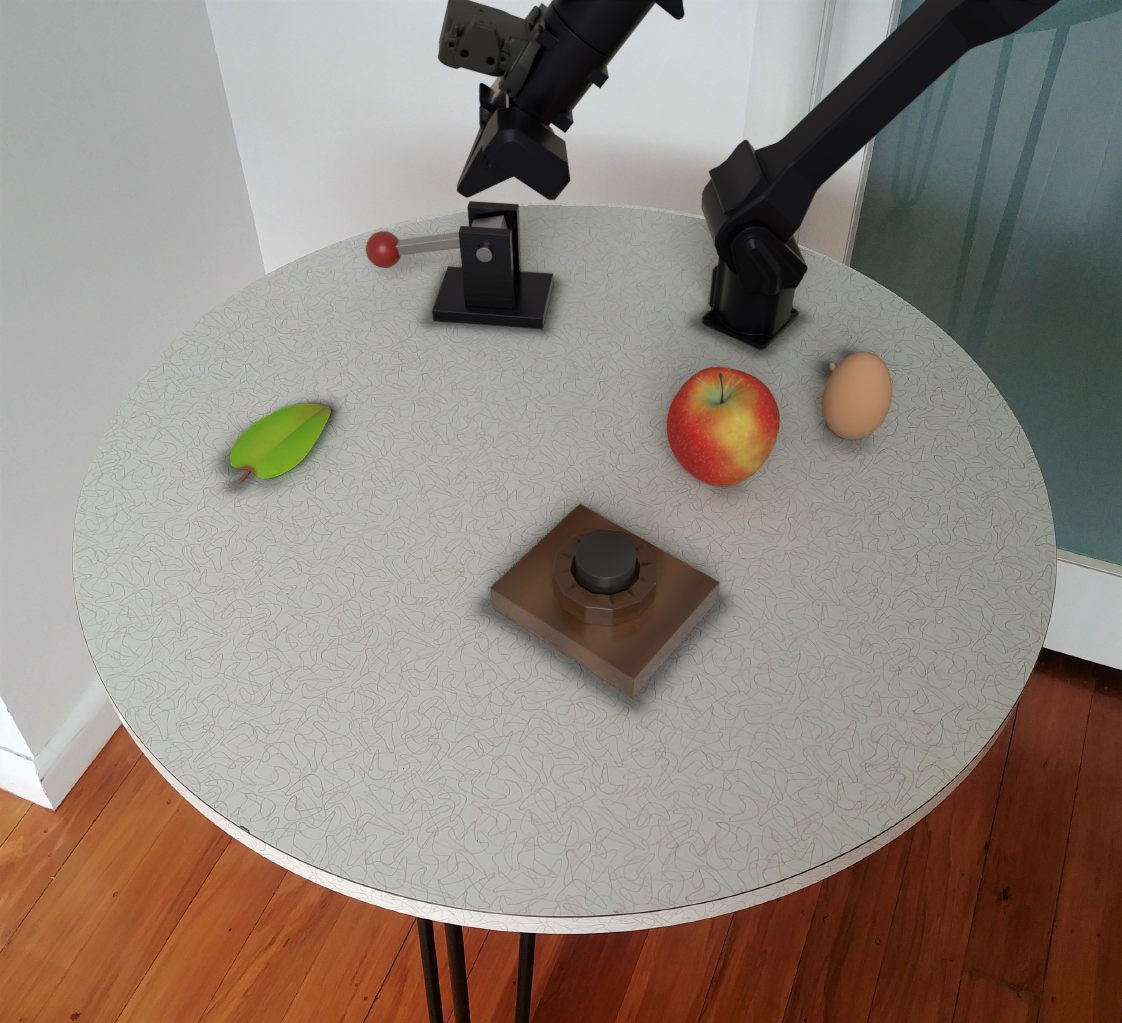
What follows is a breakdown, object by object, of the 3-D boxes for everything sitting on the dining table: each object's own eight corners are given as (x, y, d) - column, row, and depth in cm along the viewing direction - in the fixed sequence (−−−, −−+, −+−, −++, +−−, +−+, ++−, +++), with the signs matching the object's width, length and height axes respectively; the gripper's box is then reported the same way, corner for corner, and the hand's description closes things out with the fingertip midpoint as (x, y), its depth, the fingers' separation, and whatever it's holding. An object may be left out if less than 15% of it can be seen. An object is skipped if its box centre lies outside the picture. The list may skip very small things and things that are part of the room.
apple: (790, 486, 81) (811, 386, 74) (699, 521, 79) (712, 421, 71) (733, 423, 86) (748, 323, 79) (645, 454, 84) (653, 353, 76)
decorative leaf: (221, 435, 86) (218, 426, 85) (327, 401, 88) (324, 392, 87) (240, 492, 81) (236, 483, 80) (351, 455, 83) (348, 446, 82)
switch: (369, 277, 95) (356, 246, 93) (377, 256, 97) (365, 226, 95) (507, 260, 92) (497, 228, 90) (513, 239, 94) (503, 207, 92)
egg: (802, 434, 85) (819, 356, 79) (838, 403, 88) (857, 325, 82) (856, 465, 83) (878, 387, 77) (893, 432, 85) (916, 355, 79)
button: (647, 567, 71) (648, 550, 70) (611, 604, 69) (612, 587, 68) (599, 540, 73) (599, 522, 71) (563, 575, 71) (563, 558, 69)
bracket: (433, 321, 96) (423, 236, 89) (448, 276, 100) (440, 192, 94) (542, 329, 95) (540, 244, 88) (553, 284, 99) (552, 199, 93)
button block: (716, 601, 74) (722, 564, 71) (632, 698, 68) (635, 662, 65) (579, 523, 79) (580, 485, 76) (491, 607, 73) (488, 570, 70)
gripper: (488, -88, 78) (379, 82, 86) (491, 7, 65) (362, 197, 73) (606, 5, 83) (492, 158, 91) (630, 111, 70) (495, 278, 78)
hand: (461, 192), depth 83 cm, fingers closed
